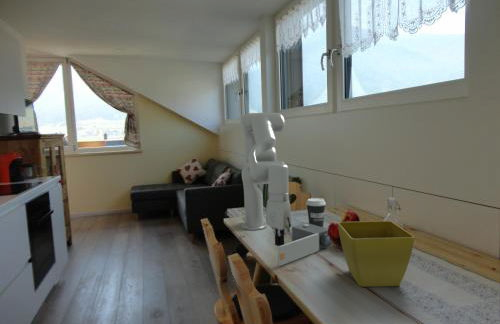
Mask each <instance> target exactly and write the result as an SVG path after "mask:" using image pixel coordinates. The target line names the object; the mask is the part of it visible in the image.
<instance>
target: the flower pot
mask: <svg viewBox="0 0 500 324" xmlns="http://www.w3.org/2000/svg"><path fill="white" fill-rule="evenodd" d="M337 229H338V234H339V239H340V244H341V248H342V252H343V255H344V259H345V263H346V265H347V268H348V270H349V272H350V274H351V276H352V278H353V279H354V280H355V283H356V284H357V285H358V286H359V287H362V288H363V287H399V286H400V285H401V282H402V281H403V279H404V277H405V273H406V271H407V270H408V266H409V263H410V260H411V256H412V252H413V247H414V242H415V236H414V235H413V234H412V233H410V232H408V231H407V230H405V229H404V228H402V227H401V226H399V225H398V224H396V222H393V220H375V221H373V220H372V221H371V220H370V221H369V220H366V221H339V222H337Z"/></svg>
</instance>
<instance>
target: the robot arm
mask: <svg viewBox="0 0 500 324" xmlns="http://www.w3.org/2000/svg"><path fill="white" fill-rule="evenodd" d="M240 127H241V131H242V134H243V137H244V160H245V162H246V164H248V166H245V167H244V168H243V169H241V179H242V184H243V197H244V199H243V201H244V204H243V205H244V217H242V218H241V220H242V221H243V222H244V223H242V225H241V227H242V228H243V229H245V230H247V231H248V230H249V231H259V230H263V229H266V228H267V226H268V227H269V228H271V229H272V230H273V231H272V232H273V235H274V246H276V247H278V246H281V245H284V244H285V235H286V234H288V233H291V229H290V228H292V221H293V220H292V210H291V209H292V208H291V203H290V198H289V197H290V192H289V191H290V190H289V189H290V188H289V187H290V186H289V185H290V181H289V166H288V165H287V164H286V163H285V161H282V160H277V158H278V157H277V150H276V148H275V146H276V144H277V139H276V138H277V137H276V135H275V133H281V132H284V130H285V127H286V120H285V117H284V116H283V114H282V113H280V112H247V113H243V114H242V115H241V116H240ZM267 184H268V187H267V188H268V189H267V190H268V191H267V192H268V199H267V201H266V207H265V208H266V211H265V222H264V198H263V197H264V195H263V191H262V189H261V188H260V187H259V186H258V185H267Z"/></svg>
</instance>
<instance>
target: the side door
mask: <svg viewBox="0 0 500 324" xmlns="http://www.w3.org/2000/svg"><path fill="white" fill-rule="evenodd" d="M316 252H320V250H319V234H318V233H316V234H313V235H310V236H307V237H304V238H301V239H298V240H296V241H293V242H292V241H290V242H287V243H284V245H281V246H277V266H279V267H280V266H283V265H285V264H289V263H291V262H294V261H296V260H299V259H301V258H304V257H306V256H309V255H312V254H314V253H316Z"/></svg>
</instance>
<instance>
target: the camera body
mask: <svg viewBox="0 0 500 324" xmlns="http://www.w3.org/2000/svg"><path fill="white" fill-rule="evenodd" d="M328 229H329V228H327V227H324V226H323V227H320V226H316V225H312V224H309V222H304V223H301V224H297V225H293V226H291V236H292V238H291V240H292V241H291V242H293V241H296V240H298V239H301V238H304V237H307V236H310V235H313V234H316V233H318V234H319V251H320V250H323V249H325V248H327V247H330V246H331V245H332V239H331V240H330V236H329V235H328Z"/></svg>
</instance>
